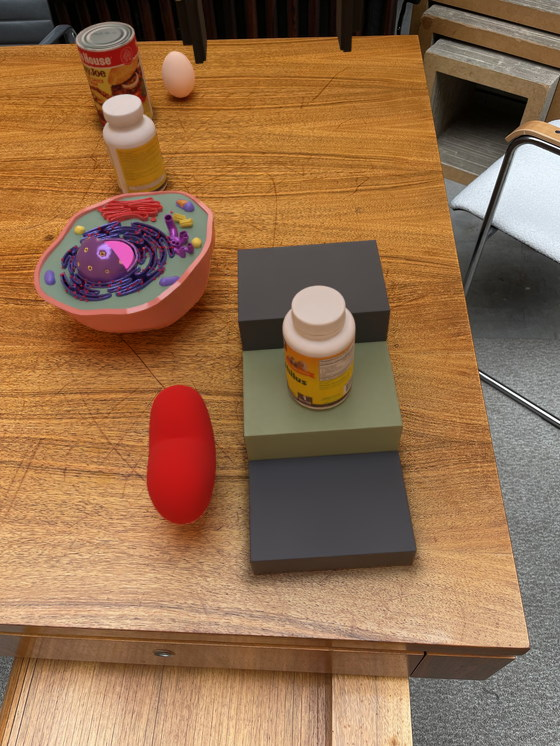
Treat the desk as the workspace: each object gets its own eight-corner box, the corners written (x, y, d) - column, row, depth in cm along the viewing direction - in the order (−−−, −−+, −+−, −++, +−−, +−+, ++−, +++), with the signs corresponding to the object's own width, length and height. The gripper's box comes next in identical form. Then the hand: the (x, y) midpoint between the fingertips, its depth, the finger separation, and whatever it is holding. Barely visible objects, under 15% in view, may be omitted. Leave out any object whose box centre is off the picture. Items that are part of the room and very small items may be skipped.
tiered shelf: (369, 318, 68) (376, 239, 59) (412, 564, 52) (430, 506, 43) (248, 327, 68) (237, 249, 60) (253, 575, 52) (239, 518, 43)
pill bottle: (177, 189, 84) (158, 106, 74) (132, 208, 82) (108, 126, 72) (154, 166, 87) (134, 84, 78) (111, 184, 85) (85, 102, 76)
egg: (173, 108, 96) (164, 64, 90) (161, 93, 98) (152, 50, 93) (202, 98, 97) (195, 54, 91) (190, 84, 99) (182, 41, 94)
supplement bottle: (277, 371, 56) (269, 289, 47) (336, 352, 57) (338, 268, 48) (300, 421, 52) (296, 342, 44) (362, 400, 53) (369, 319, 45)
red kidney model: (165, 437, 60) (141, 374, 53) (222, 431, 61) (207, 367, 53) (161, 555, 53) (132, 504, 45) (225, 549, 53) (208, 496, 45)
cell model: (260, 281, 72) (251, 199, 63) (131, 396, 64) (99, 320, 55) (157, 224, 79) (136, 143, 70) (28, 320, 71) (-15, 243, 62)
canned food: (90, 118, 95) (64, 36, 86) (134, 97, 98) (114, 16, 88) (118, 139, 91) (94, 56, 82) (163, 117, 94) (145, 34, 85)
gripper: (47, -297, 27) (140, 87, 41) (453, -334, 27) (410, 66, 40) (74, -321, 32) (149, 32, 45) (421, -352, 31) (392, 13, 45)
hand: (272, 48), depth 43 cm, fingers open, 9 cm apart
